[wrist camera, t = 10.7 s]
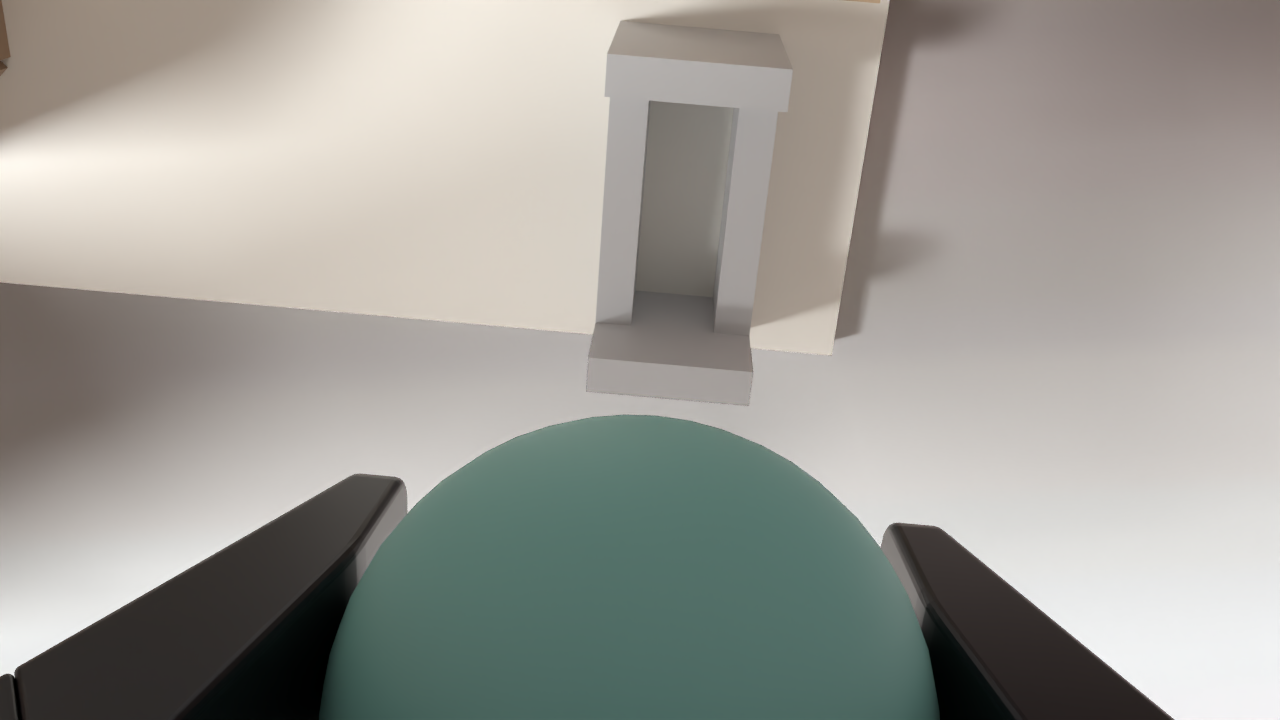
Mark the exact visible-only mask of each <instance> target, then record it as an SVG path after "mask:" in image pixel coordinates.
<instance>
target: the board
mask: <svg viewBox="0 0 1280 720" xmlns="http://www.w3.org/2000/svg"><path fill="white" fill-rule="evenodd" d="M889 3H890V0H0V283H11V284H23V285H34V286H45V287H57V288H68V289H79V290H91V291H102V292H114V293H125V294H136V295H148V296H159V297H170V298H182V299H193V300H204V301H216V302H227V303H238V304H250V305H261V306H272V307H284V308H295V309H306V310H318V311H329V312H340V313H352V314H363V315H375V316H386V317H397V318H409V319H420V320H431V321H443V322H454V323H465V324H477V325H488V326H499V327H511V328H522V329H533V330H545V331H556V332H567V333H579V334H590V335H593V337H592V342H591V347H590V352H589V356H588V370H587V386H586V392H597V393H609V394H620V395H631V396H642V397H654V398H665V399H676V400H688V401H699V402H710V403H721V404H733V405H744V406H749V399H750V392H751V384H752V377H753V366H752V357H751V349H760V350H772V351H783V352H794V353H806V354H817V355H828V356H832V350H833V344H834V338H835V332H836V326H837V320H838V314H839V308H840V301H841V295H842V289H843V283H844V277H845V271H846V265H847V259H848V253H849V247H850V241H851V234H852V228H853V222H854V216H855V210H856V204H857V198H858V192H859V186H860V180H861V173H862V167H863V161H864V155H865V149H866V143H867V137H868V131H869V125H870V119H871V112H872V106H873V100H874V94H875V88H876V82H877V76H878V70H879V64H880V58H881V52H882V45H883V39H884V33H885V27H886V21H887V15H888V9H889Z"/></svg>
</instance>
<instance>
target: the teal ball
mask: <svg viewBox="0 0 1280 720" xmlns="http://www.w3.org/2000/svg"><path fill="white" fill-rule="evenodd" d="M319 720H940V710H939V704H938V699H937V693H936V687H935V682H934V676H933V671H932V666H931V660H930V655H929V650H928V647H927V644H926V641H925V639H924V636H923V633H922V631H921V628H920V625H919V622H918V620H917V617H916V614H915V612H914V609H913V607H912V604H911V602H910V599H909V596H908V594H907V592H906V590H905V588H904V587H903V585H902V583H901V581H900V580H899V578H898V576H897V574H896V572H895V571H894V569H893V567H892V565H891V564H890V562H889V561H888V559H887V558H886V556H885V554H884V553H883V551H882V550H881V548H880V547H879V545H878V544H877V543H876V541H875V540H874V539H873V538H872V536H871V535H870V534H869V532H868V531H867V530H866V529H865V527H864V526H863V525H862V523H861V522H860V521H859V520H858V518H857V517H856V516H855V515H854V514H852V513H851V512H850V511H849V510H848V509H847V508H846V507H845V506H844V505H843V504H842V503H841V502H840V501H839V500H838V499H837V498H836V497H835V496H834V495H833V494H832V493H831V492H830V491H828V490H827V489H826V488H825V487H824V486H823V485H822V484H821V483H820V482H818V481H817V480H816V479H814V478H813V477H812V476H810V475H809V474H807V473H806V472H805V471H803V470H802V469H801V468H799V467H798V466H797V465H795V464H794V463H793V462H791V461H789V460H787V459H785V458H784V457H782V456H780V455H778V454H776V453H775V452H773V451H771V450H769V449H767V448H766V447H764V446H762V445H759V444H757V443H755V442H752V441H750V440H747V439H745V438H742V437H740V436H737V435H735V434H732V433H730V432H727V431H725V430H722V429H718V428H715V427H711V426H707V425H704V424H700V423H696V422H693V421H688V420H681V419H675V418H668V417H661V416H647V415H615V416H603V417H591V418H586V419H581V420H576V421H571V422H566V423H561V424H557V425H552V426H548V427H545V428H542V429H539V430H536V431H533V432H530V433H527V434H524V435H521V436H518V437H515V438H513V439H511V440H509V441H507V442H505V443H503V444H501V445H499V446H497V447H495V448H493V449H491V450H489V451H487V452H485V453H483V454H482V455H480V456H479V457H477V458H476V459H474V460H473V461H471V462H470V463H468V464H467V465H465V466H464V467H462V468H461V469H459V470H458V471H456V472H455V473H453V474H452V475H450V476H449V477H447V478H446V479H444V480H443V481H441V482H440V483H439V484H438V485H437V486H436V487H435V488H434V489H432V490H431V491H430V492H429V493H428V494H427V495H426V496H425V497H423V498H422V499H421V500H420V501H419V502H418V503H417V504H416V505H415V506H414V507H413V508H412V509H411V510H410V512H409V513H408V514H407V515H406V516H405V517H404V518H403V519H402V520H401V522H400V523H399V524H398V525H397V526H396V528H395V529H394V530H393V531H392V532H391V534H390V535H389V536H388V537H387V538H386V540H385V541H384V542H383V543H382V544H381V546H380V547H379V549H378V551H377V552H376V554H375V556H374V557H373V559H372V561H371V562H370V564H369V566H368V568H367V569H366V571H365V573H364V574H363V576H362V578H361V579H360V581H359V583H358V585H357V586H356V588H355V590H354V591H353V593H352V595H351V597H350V599H349V602H348V605H347V607H346V610H345V612H344V615H343V617H342V620H341V623H340V625H339V628H338V631H337V634H336V637H335V639H334V642H333V645H332V648H331V651H330V654H329V659H328V664H327V669H326V674H325V679H324V684H323V691H322V698H321V705H320V711H319Z"/></svg>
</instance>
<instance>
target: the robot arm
mask: <svg viewBox="0 0 1280 720" xmlns="http://www.w3.org/2000/svg"><path fill="white" fill-rule="evenodd" d="M406 515H407V491H406V487H405V484H404V482H403V481H402V480H401V479H400V478H397V477H390V476H379V475H368V474H354V475H352V476H350V477H348V478H346V479H344V480H342V481H341V482H339V483H337V484H335V485H334V486H332V487H330V488H328V489H327V490H325V491H323V492H322V493H320V494H318V495H316V496H315V497H313V498H311V499H309V500H308V501H306V502H304V503H302V504H301V505H299V506H297V507H295V508H294V509H292V510H290V511H288V512H287V513H285V514H283V515H281V516H280V517H278V518H276V519H275V520H273V521H271V522H269V523H268V524H266V525H264V526H262V527H261V528H259V529H257V530H255V531H254V532H252V533H250V534H248V535H247V536H245V537H243V538H241V539H240V540H238V541H236V542H235V543H233V544H231V545H229V546H228V547H226V548H224V549H222V550H221V551H219V552H217V553H215V554H214V555H212V556H210V557H208V558H207V559H205V560H203V561H201V562H200V563H198V564H196V565H194V566H193V567H191V568H189V569H188V570H186V571H184V572H182V573H181V574H179V575H177V576H175V577H174V578H172V579H170V580H168V581H167V582H165V583H163V584H161V585H160V586H158V587H156V588H154V589H153V590H151V591H149V592H148V593H146V594H144V595H142V596H141V597H139V598H137V599H135V600H134V601H132V602H130V603H128V604H127V605H125V606H123V607H121V608H120V609H118V610H116V611H114V612H113V613H111V614H109V615H107V616H106V617H104V618H102V619H101V620H99V621H97V622H95V623H94V624H92V625H90V626H88V627H87V628H85V629H83V630H81V631H80V632H78V633H76V634H74V635H73V636H71V637H69V638H67V639H66V640H64V641H62V642H60V643H59V644H57V645H55V646H53V647H52V648H50V649H48V650H46V651H45V652H43V653H41V654H39V655H38V656H36V657H34V658H33V659H31V660H29V661H27V662H26V663H24V664H22V665H20V666H19V667H17V668H16V670H15V672H14V675H15V678H14V676H13V675H11V674H4V675H2V676H1V677H0V720H319V711H320V705H321V698H322V691H323V684H324V679H325V674H326V669H327V664H328V659H329V654H330V651H331V648H332V645H333V642H334V639H335V637H336V634H337V631H338V628H339V625H340V623H341V620H342V617H343V615H344V612H345V610H346V607H347V605H348V602H349V599H350V597H351V595H352V593H353V591H354V590H355V588H356V586H357V585H358V583H359V581H360V579H361V578H362V576H363V574H364V573H365V571H366V569H367V568H368V566H369V564H370V562H371V561H372V559H373V557H374V556H375V554H376V552H377V551H378V549H379V547H380V546H381V544H382V543H383V542H384V541H385V540H386V538H387V537H388V536H389V535H390V534H391V532H392V531H393V530H394V529H395V528H396V526H397V525H398V524H399V523H400V522H401V520H402V519H403V518H404V517H405V516H406ZM881 550H882V551H883V553H884V554H885V556H886V558H887V559H888V561H889V562H890V564H891V565H892V567H893V569H894V571H895V572H896V574H897V576H898V578H899V580H900V581H901V583H902V585H903V587H904V588H905V590H906V592H907V594H908V596H909V599H910V602H911V604H912V607H913V609H914V612H915V614H916V617H917V620H918V622H919V625H920V628H921V631H922V633H923V636H924V639H925V641H926V644H927V647H928V650H929V655H930V660H931V666H932V671H933V676H934V682H935V687H936V693H937V699H938V704H939V710H940V720H1174V719H1173V718H1172V717H1171V716H1169V715H1168V714H1167V713H1166V712H1165V711H1163V710H1162V709H1161V708H1160V707H1158V706H1157V705H1156V704H1155V703H1154V702H1152V701H1151V700H1150V699H1149V698H1147V697H1146V696H1145V695H1144V694H1143V693H1141V692H1140V691H1139V690H1138V689H1136V688H1135V687H1134V686H1133V685H1132V684H1130V683H1129V682H1128V681H1127V680H1125V679H1124V678H1123V677H1122V676H1121V675H1119V674H1118V673H1117V672H1116V671H1114V670H1113V669H1112V668H1111V667H1110V666H1108V665H1107V664H1106V663H1105V662H1103V661H1102V660H1101V659H1100V658H1099V657H1097V656H1096V655H1095V654H1094V653H1092V652H1091V651H1090V650H1089V649H1088V648H1086V647H1085V646H1084V645H1083V644H1082V643H1080V642H1079V641H1078V640H1077V639H1075V638H1074V637H1073V636H1072V635H1071V634H1069V633H1068V632H1067V631H1066V630H1064V629H1063V628H1062V627H1061V626H1060V625H1058V624H1057V623H1056V622H1055V621H1053V620H1052V619H1051V618H1050V617H1049V616H1047V615H1046V614H1045V613H1044V612H1042V611H1041V610H1040V609H1039V608H1038V607H1036V606H1035V605H1034V604H1033V603H1031V602H1030V601H1029V600H1028V599H1027V598H1025V597H1024V596H1023V595H1022V594H1020V593H1019V592H1018V591H1017V590H1016V589H1014V588H1013V587H1012V586H1011V585H1009V584H1008V583H1007V582H1006V581H1005V580H1003V579H1002V578H1001V577H1000V576H998V575H997V574H996V573H995V572H994V571H992V570H991V569H990V568H989V567H987V566H986V565H985V564H984V563H983V562H981V561H980V560H979V559H978V558H977V557H975V556H974V555H973V554H972V553H970V552H969V551H968V550H967V549H966V548H964V547H963V546H962V545H961V544H959V543H958V542H957V541H956V540H955V539H953V538H952V537H951V536H950V535H948V534H947V533H946V532H945V531H943V530H942V529H940V528H939V527H935V526H929V525H918V524H906V523H893V524H891V525H889V527H888V528H887V529H886V531H885V533H884V536H883V540H882V544H881Z"/></svg>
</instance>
